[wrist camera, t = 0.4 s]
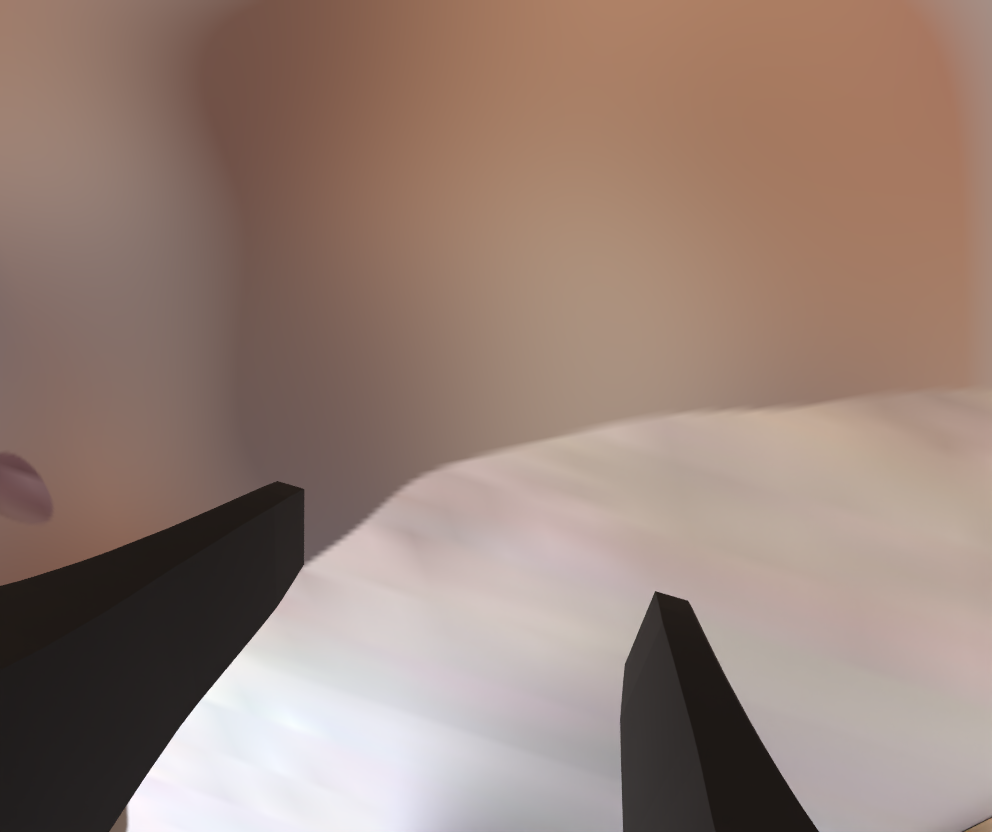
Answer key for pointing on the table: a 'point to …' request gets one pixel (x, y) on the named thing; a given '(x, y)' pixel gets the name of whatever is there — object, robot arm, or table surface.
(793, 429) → the table surface
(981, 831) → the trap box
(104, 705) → the robot arm
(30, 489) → the table surface
